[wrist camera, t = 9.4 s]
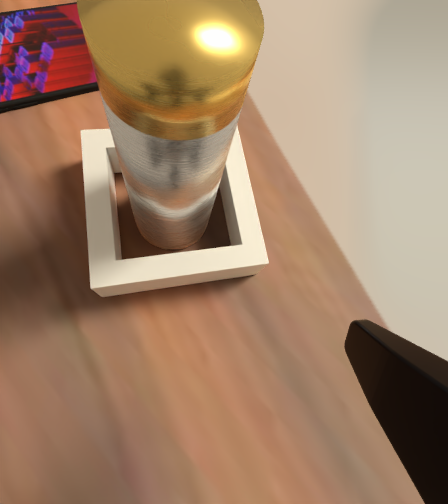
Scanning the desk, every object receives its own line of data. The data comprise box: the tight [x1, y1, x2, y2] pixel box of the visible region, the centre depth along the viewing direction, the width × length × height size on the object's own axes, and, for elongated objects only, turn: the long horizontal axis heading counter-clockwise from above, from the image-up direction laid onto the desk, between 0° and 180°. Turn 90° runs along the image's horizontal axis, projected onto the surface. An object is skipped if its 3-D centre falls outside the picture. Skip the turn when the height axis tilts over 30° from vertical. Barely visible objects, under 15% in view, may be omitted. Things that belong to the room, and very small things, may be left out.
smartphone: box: [0, 2, 99, 113], centre depth 21 cm, size 8×1×15 cm
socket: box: [81, 126, 269, 297], centre depth 17 cm, size 9×9×2 cm
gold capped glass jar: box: [77, 0, 264, 250], centre depth 13 cm, size 4×4×12 cm
